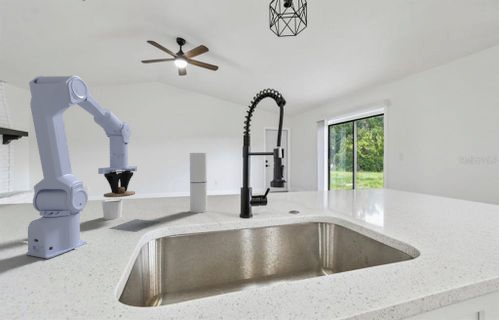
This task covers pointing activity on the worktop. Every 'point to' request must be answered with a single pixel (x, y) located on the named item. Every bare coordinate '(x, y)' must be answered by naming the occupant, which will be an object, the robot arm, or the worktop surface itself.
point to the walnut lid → (120, 193)
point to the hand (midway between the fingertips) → (119, 192)
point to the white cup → (112, 208)
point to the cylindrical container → (198, 182)
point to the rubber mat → (135, 225)
